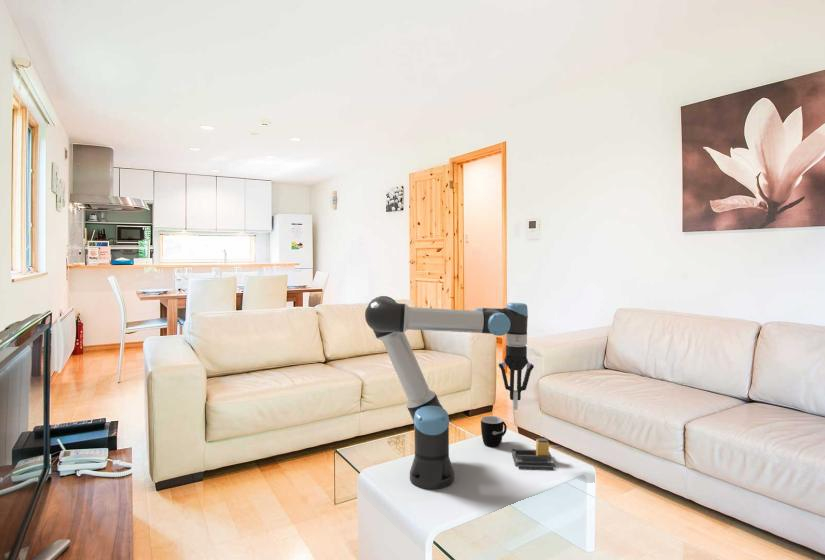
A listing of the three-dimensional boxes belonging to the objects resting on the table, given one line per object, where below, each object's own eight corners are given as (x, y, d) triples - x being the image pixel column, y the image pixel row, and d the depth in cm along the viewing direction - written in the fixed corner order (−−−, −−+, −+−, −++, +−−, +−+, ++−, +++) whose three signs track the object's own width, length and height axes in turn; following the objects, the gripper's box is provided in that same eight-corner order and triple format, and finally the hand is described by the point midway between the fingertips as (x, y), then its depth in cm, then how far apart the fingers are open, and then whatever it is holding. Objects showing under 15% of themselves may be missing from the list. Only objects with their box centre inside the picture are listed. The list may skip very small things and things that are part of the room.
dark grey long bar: (519, 469, 168) (519, 466, 168) (518, 467, 169) (518, 465, 169) (553, 470, 167) (553, 467, 167) (552, 468, 168) (552, 466, 168)
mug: (490, 450, 185) (490, 424, 184) (476, 442, 192) (476, 418, 192) (513, 444, 191) (513, 419, 190) (498, 437, 198) (498, 413, 198)
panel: (515, 466, 170) (515, 458, 170) (512, 454, 180) (512, 447, 180) (555, 467, 169) (555, 459, 169) (549, 455, 179) (549, 448, 179)
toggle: (537, 458, 173) (537, 441, 172) (536, 455, 176) (536, 437, 176) (548, 459, 172) (548, 441, 172) (547, 455, 176) (547, 438, 175)
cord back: (512, 452, 183) (512, 449, 182) (512, 451, 184) (512, 448, 183) (541, 454, 181) (541, 451, 181) (541, 453, 182) (541, 450, 182)
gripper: (499, 346, 170) (497, 410, 171) (536, 347, 169) (534, 412, 170) (497, 342, 178) (496, 404, 179) (532, 343, 176) (531, 406, 177)
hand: (514, 408), depth 174 cm, fingers closed
